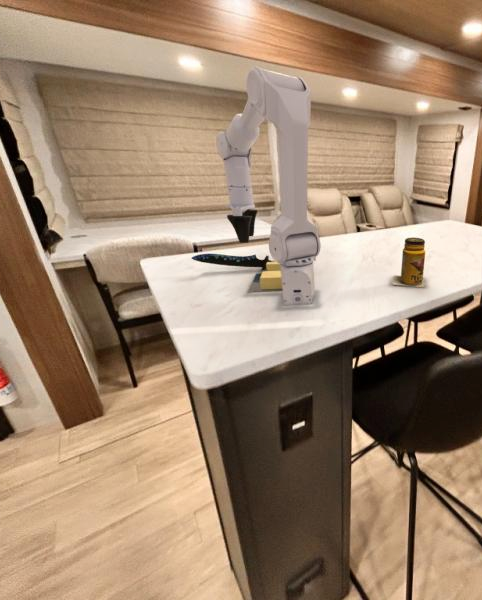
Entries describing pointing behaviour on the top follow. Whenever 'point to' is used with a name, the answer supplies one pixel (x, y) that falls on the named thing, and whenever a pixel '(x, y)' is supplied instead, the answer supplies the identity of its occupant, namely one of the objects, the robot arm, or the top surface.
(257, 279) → the butter dish
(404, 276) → the condiment
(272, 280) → the yellow rectangular block
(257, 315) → the top surface
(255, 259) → the knife
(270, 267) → the butter pat
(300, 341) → the top surface
